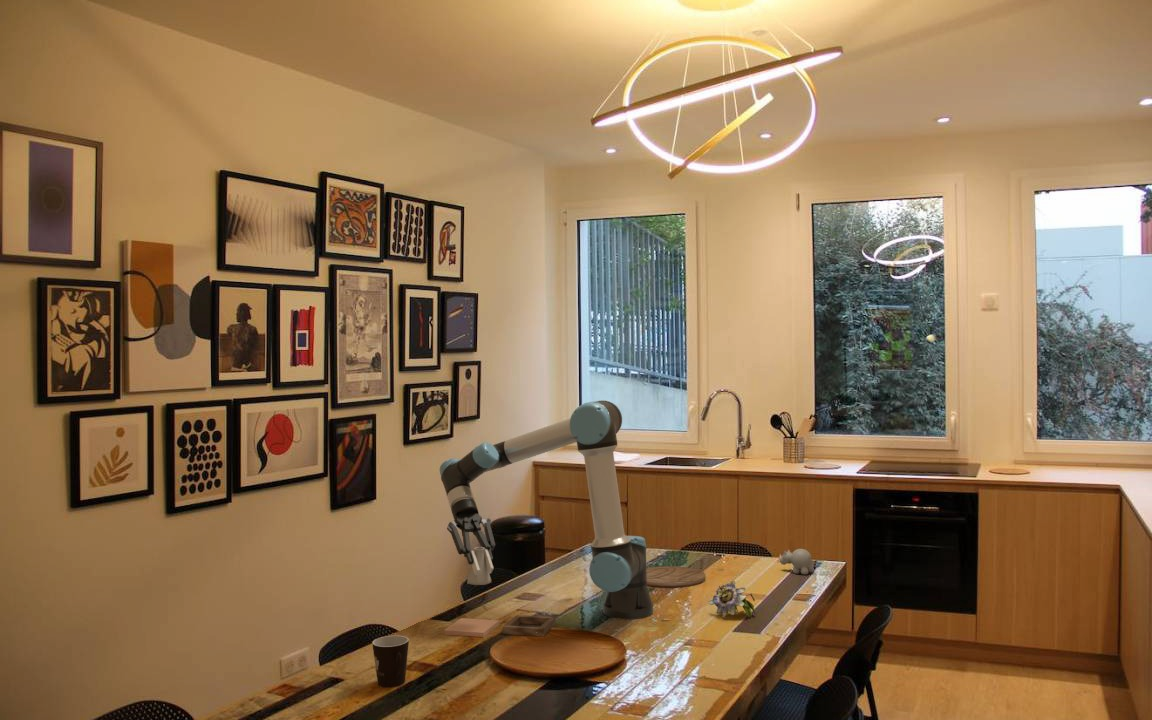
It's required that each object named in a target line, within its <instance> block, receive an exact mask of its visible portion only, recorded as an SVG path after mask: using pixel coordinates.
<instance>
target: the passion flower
mask: <svg viewBox="0 0 1152 720" xmlns="http://www.w3.org/2000/svg"><path fill="white" fill-rule="evenodd" d="M745 591H746V587H745V586H744V587H739V588H737V586H736V581H735V580H734V579H733V580H731V581H730V583H727V584H722V585H721V586H720V585H718V588H717V589H716V590H715V593H716V594H714V595H713V597H712V599H711V600H709V601H708V602H707V604H708V605H714V606H715V607H716V614H717V615H718V614H721V617H722V618H721V619H724V618H727V616H728V613H729V614H730V615H731V616H734V615H735V614H736V612H739V610H738V608H737V607H742V608H743V610H744V612H745V614H746V616H747V617H748V618H749V619H752V615H753V614H754V615H755V614H756V612H755V611H756V610H755V606H754V605H753V603H752V602H750V601H749V600H747V596H750V597H751V598H752V601H753V602H755V601H756V598H755V597H754V595H753V593H749V594H746V595H745V594H743V593H744V592H745ZM752 611H753V612H752ZM752 613H753V614H752Z"/></svg>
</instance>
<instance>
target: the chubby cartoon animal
mask: <svg viewBox="0 0 1152 720" xmlns="http://www.w3.org/2000/svg"><path fill="white" fill-rule="evenodd" d="M812 560H813V558H812V555H811V552H809V551H808V550H807V549H804V548H797V549H795V550H794V551H793V552H791V551H790V549H788V550H787V551H786V550H784V551H783V555H782V554H781V553H780V554H779V563H780V564H781V565H784V566H785V565H786V564H787V565H789V564H790V565H791V564H792V566H793V568H792V573H793V574H797V575H799V574H801V575H804V576H806V575H809V573H813V571H814V570H813V566H812V563H813V562H812Z"/></svg>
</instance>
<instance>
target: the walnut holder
mask: <svg viewBox="0 0 1152 720" xmlns="http://www.w3.org/2000/svg"><path fill="white" fill-rule="evenodd" d="M556 618H557V617H555V616H543V615H529V614H528V615H523V614H515V615H514V616H513V617H512V618H511V619H510V620H508V621H507V622H506V623H505V624H504V625H502V626H501V628H502V629H501V632H502V633H501V634H503V635H515V636H517V635H518V636H530V637H544V636H545V635H546V634H547V633H548V632H549V631H550V630H551V629H553V627H554V626H556V624H557V623H556ZM520 624H524V626H522V625H520ZM525 624H526V625H540V626H538V627H537V626H536V627H535V626H525ZM536 632H537V633H536Z"/></svg>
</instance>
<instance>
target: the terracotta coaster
mask: <svg viewBox="0 0 1152 720" xmlns="http://www.w3.org/2000/svg"><path fill="white" fill-rule="evenodd" d="M498 626H500V620H498V619H497V620H495V619H482V618H480V619H477V618H465V617H463V618H462V617H460V618H459V619H458V620H456V621H455V622H454V623H452V624H450V625H449V626H448V627H446V628H444V630H443V635H446V636H447V635H449V636H462V637H477V638H485V637H486V636H487V635H488V634H490V633H491V632H492V631H493V630H494V629H496V628H497V627H498Z"/></svg>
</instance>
